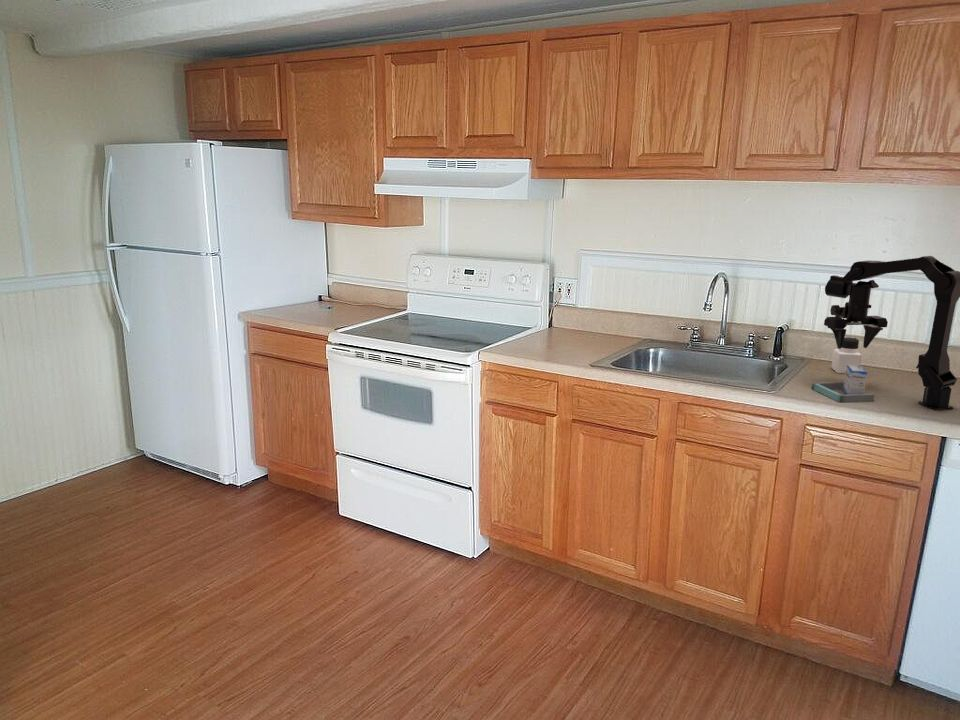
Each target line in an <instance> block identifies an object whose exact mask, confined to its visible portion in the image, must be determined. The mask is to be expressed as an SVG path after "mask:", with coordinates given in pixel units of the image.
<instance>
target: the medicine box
mask: <svg viewBox="0 0 960 720" xmlns="http://www.w3.org/2000/svg"><path fill="white" fill-rule="evenodd" d="M867 378H868V371H867V370H865V368H864V367H863V366H862V365H860V366H858V365H847V367H846V373H845V374H844V380H843V382H844V386H843V389H842V391H843V392H844V394H845V395H847V394H866V393H865V391H866V385H867Z"/></svg>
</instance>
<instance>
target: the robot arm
mask: <svg viewBox="0 0 960 720" xmlns="http://www.w3.org/2000/svg"><path fill="white" fill-rule="evenodd" d="M849 269H850V270H848V272H847V273H845V275H843V276H839V275H834V274H833V275H831V276H829V277H830V278H829V279H828V280H827V282H826V285H825V287H824V292H825V294H826V296H828V297H833V298H840V299H846V298H848V297H849V298H848V301H846V302H845V304H844V306H843V307H840V305H839V304H833V305H831V307H830V315H831V316H826V317H825V318H824V321H823V326H826V327H827V328H828V329H830V330H831V332H833V335H834V339H835V343H836V347H837V348H836V349H841V347H842V344H843V341H844V337H846V334H847V333H846V332H847V329H846V327H847V326H854V325H855V326H858V325H859V326H863V329H864V336H863V344H862V345H863V348H864V349H867V348H868V347H869V346H870V344H871V342H872V341H873V340H874V339H875V338H876V336H877V335H878V334H879V333H880V332H881V331H883V330H884V328H887V327H888V319H887V318H886V317H882V316H879V315H868V312H869V309H872V304H869V303H870V297H871V291H872V289H878V288H879V287H880V285H879V284H878V283H877V282H876V281H875V279H872V278H877V277H880V276H883V275H885V274H892V273H893V274H895V273H904V272H911V271H921V272H922V273H923V275H925V277H926V278H927V279H928V280H929V281H930V282H932V283H933V294H934V297H935V300H936V305H935V311H934V317H933V322H932V329H931V334H930V338H929V339H930V340H929V345H928V349H927V351H926V352H925V353H921V354H919V355H918V358H917V359H918V362H917V365H916V367H915V369H917V373H918V376H919V377H920V379H921V381H922V386H923V387H924V391H923V397H922V400H918V404H920V405H923V406H924V407H927V408H929V409H932V410H948V409H951V410H952V409H954V406H952V405H950V398H951V396H952V394H951V393H952V388H951V387H954V386H955V384H956V383H957V381H958V379H957V377H956V376H955V375H954V373H953V372H952V371H951V370H950V368H951V366H950V364H951V363H950V362H951V361H950V360H951V359H950V357H949V354H948V346H949V340H950V335H951V331H952V326H953V320H954V315H955V310H956V304H957V302H958V301H959V299H960V271H959V270H956V269H953V268H952V267H951V266H949V265H947V264H945V263H943V262H941V261H940V260H939V259H937V258H936V257H934V256H933V255H924V256H921V257H915V258H907V259H905V258H904V259H899V260H891V261H882V260H860V261H856V262H853V263H852V265H851V266H850V268H849ZM867 279H870V280H868V281H865V280H867ZM862 280H863V281H862Z"/></svg>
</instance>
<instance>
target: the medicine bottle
mask: <svg viewBox="0 0 960 720" xmlns="http://www.w3.org/2000/svg"><path fill="white" fill-rule="evenodd" d="M859 344H860V340H859V339H858V338H857V337H853V336H851V337H850V336H845V337H844V341H843V344H842V347H841V349H838V348H834V349H833V357H832V363H831V369H833V371H834V370H835V371H834V372H836V373H837V374H844V373H846V367H847V365H858V366H861V362H862V361H861V360H862V354H861V353H860V352H859V351H858V350H859Z"/></svg>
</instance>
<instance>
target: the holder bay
mask: <svg viewBox="0 0 960 720" xmlns="http://www.w3.org/2000/svg"><path fill="white" fill-rule="evenodd" d="M843 386H844V381H827V382H812V384H811V390H813V389H814V391H815V390H816V392H817V391H818V392H817V393H819V392H820V393H819V394H821V393H822V394H821V395H823V394H824V396H825V395H826V396H825V397H827V396H828V398H829V397H830V399H831V398H832V399H831V400H834V401H836V402H838V403H855V402H856V403H858V402H857V401H861V402H874V400H875V394H874V393H864V394H847V395H846V394H841V393H839V392H836V391H835V390H843Z"/></svg>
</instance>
